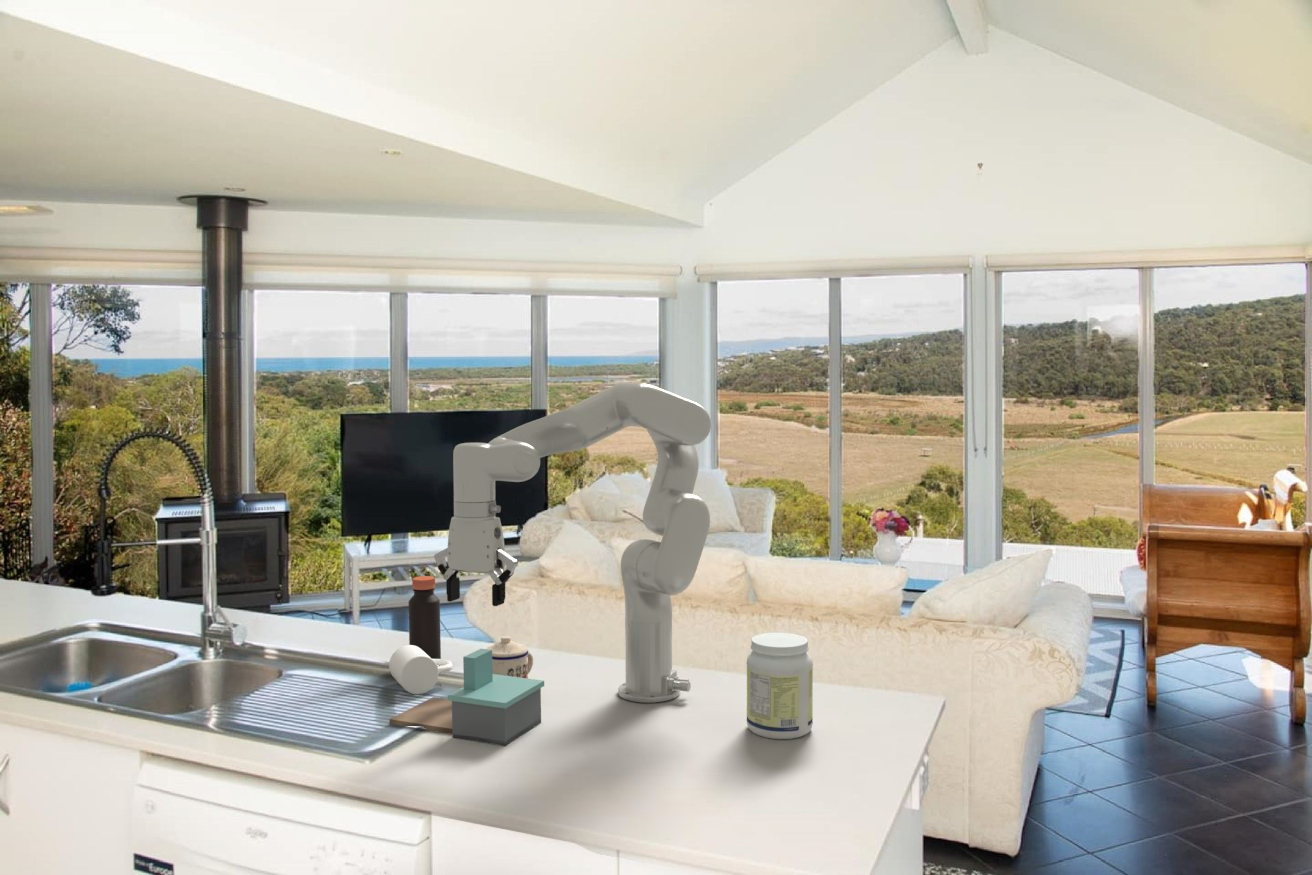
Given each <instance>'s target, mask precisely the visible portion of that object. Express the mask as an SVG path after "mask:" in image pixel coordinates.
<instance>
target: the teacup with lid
mask: <svg viewBox="0 0 1312 875" xmlns="http://www.w3.org/2000/svg"><path fill="white" fill-rule="evenodd" d="M511 639H512V638H511V637H510V635H509V636H508V635H506V636H505V635H504V636H501V638H500V641H498V642H496V643H495V644H492V645H490V646H487V647H486V648H485V649H489V650H492V674H497V675H504V676H512V677H520V678H528V679H529V677H528V676H529V673H530V672H531V671H532V669H533V665H534V656H533V654H532V653H531V652H529V649H528V647H526V646H525V645H524V644H521V643H517V642H516V641H513V640H511Z"/></svg>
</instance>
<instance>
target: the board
mask: <svg viewBox="0 0 1312 875" xmlns="http://www.w3.org/2000/svg"><path fill="white" fill-rule="evenodd" d="M389 725H392V726H397V727H403V726H423V727H424V728H426V729H427V730H426V731H431V732H436V733H442V734H447V735H449V734H450V735H453V734H452V701H449V700H448V698H443V697H435V696H433V697H430V698H429V699H427V700H424V701H422V702H420V703H419V704H416V705H415V706H412V707H411V708H409V709H407V710H404V711H403V712H401V713H399V714H397V715H395V716H393V717H390V718H389Z"/></svg>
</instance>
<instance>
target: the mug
mask: <svg viewBox="0 0 1312 875" xmlns="http://www.w3.org/2000/svg"><path fill="white" fill-rule="evenodd" d="M437 665H440V666H439V667H438V666H437ZM388 668H389V672H390V675H392V677H393V678H394V679H395V680H396V681H397V683H398V684H399V685H400V686H401V687H402V688H403V689H404V690H405V691H406V692H407V693H410V694H412V695H423V694H426V693H427V692H429V691H431V690H432V689H433V687H435V685H436V684H437V682H438V679H439V674H445V673H448V672H450V671H451V670H452V669H453V663H452V661H450V660H447V659H442V658H441V659H432V658H430V657H429V656H428V655H427V654H426V653H425V652H424V651H423V650H422V649H420V648H419V647H417V646H414V645H409V644H407V645H402V646H400V647H398V648H397V649H396V650H395V651H394V652H393V653H392V654H391V656H390V659H389V662H388Z"/></svg>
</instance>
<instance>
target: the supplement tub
mask: <svg viewBox="0 0 1312 875" xmlns="http://www.w3.org/2000/svg"><path fill="white" fill-rule="evenodd" d="M808 642H809V640H808V638H806V637H805V636H803V635H800V634H798V633H796V634H795V633H790V632H764V633H759V634H756V635H755V636H752V638H751V644H750V649H751V651H750V653H749V654H748V655H747V656H746V658H747V659H746V725H747V727H748V729H749V730H750V731H751V732H752V733H753V734H755V735H758V736H760V737H762V738H767V739H772V740H790V739H792V740H793V739H797V738H800V737H801V738H802V737H804V736H806V735H807V734H808V733H809V732H810V731H811V730H812V728H813V724H814V722H813V717H814V716H813V706H814V705H813V701H814V700H813V696H814V695H813V678H814V676H813V672H814V671H813V670H814V668H813V667H814V664H813V662H814V661H813V658H812V656H811V655H810V653H808V652H809V649H810V647H809V646H808V645H809V644H808Z"/></svg>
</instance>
